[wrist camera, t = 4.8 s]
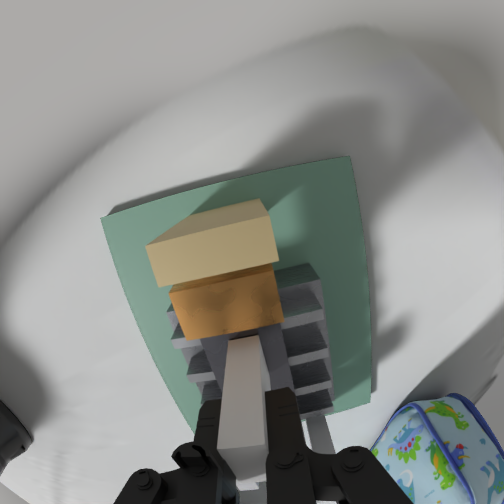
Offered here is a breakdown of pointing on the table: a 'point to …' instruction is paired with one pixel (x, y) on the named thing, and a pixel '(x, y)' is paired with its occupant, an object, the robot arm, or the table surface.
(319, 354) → the heatsink
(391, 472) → the lunch box
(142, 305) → the board
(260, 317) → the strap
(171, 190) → the table surface
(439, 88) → the table surface
